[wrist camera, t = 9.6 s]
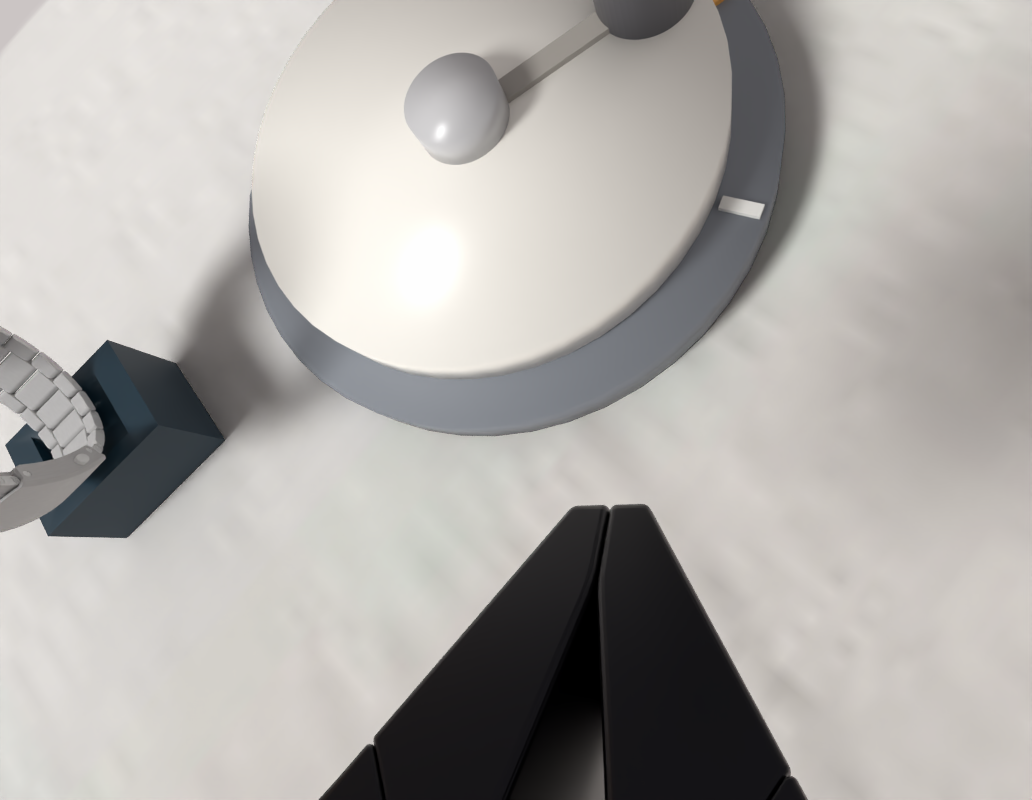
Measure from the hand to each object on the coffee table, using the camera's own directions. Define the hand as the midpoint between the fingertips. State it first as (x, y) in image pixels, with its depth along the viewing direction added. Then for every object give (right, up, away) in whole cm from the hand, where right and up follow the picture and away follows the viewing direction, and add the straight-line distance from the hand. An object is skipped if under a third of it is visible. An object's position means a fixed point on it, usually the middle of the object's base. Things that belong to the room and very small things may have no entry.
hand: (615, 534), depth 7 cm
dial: (-2, +10, +15) cm, 18 cm away
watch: (-15, 0, +19) cm, 24 cm away
